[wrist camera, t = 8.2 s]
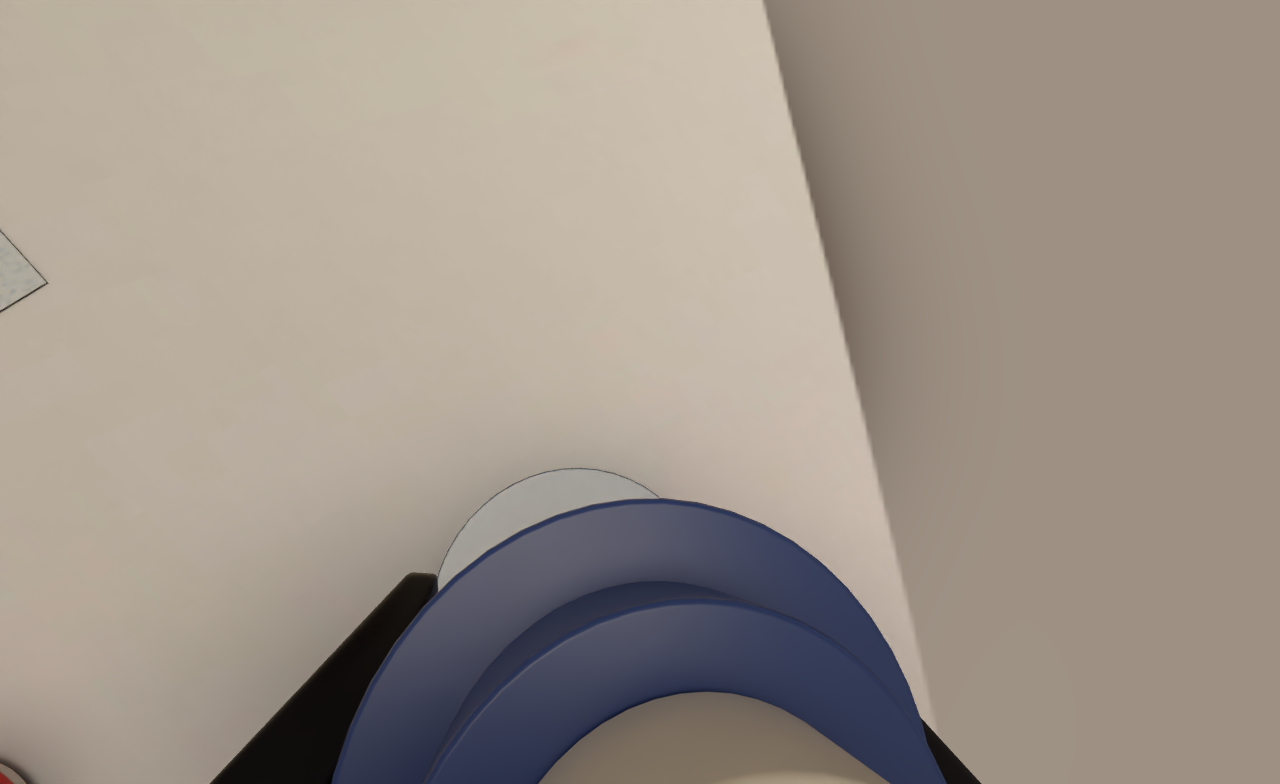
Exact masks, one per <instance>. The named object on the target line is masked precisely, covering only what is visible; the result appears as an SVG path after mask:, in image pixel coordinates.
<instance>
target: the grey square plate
mask: <svg viewBox="0 0 1280 784" xmlns="http://www.w3.org/2000/svg"><path fill="white" fill-rule="evenodd" d="M45 283H46V281H45V280H44V279H43V278H42V277H41V276H40V275H39V274H38V273H37V271H36V270H35V269H34V268H33V267H32V266H31V265H30V264H29V263H28V261H27V260H26V259H25V258H24V257H23V256H22V255H21V254H20V253H19V252H18V250H17V249H16V248H15V247H14V246H13V245H12V244H11V243H10V242H9V240H8V239H7V238H6V237H5V236H4V235H3V234H2V233H1V232H0V310H2V309H4V308H5V307H7V306H9V305H10V304H12V303H14V302H15V301H17V300H18V299H20V298H22V297H23V296H25V295H27V294H28V293H30V292H32V291H33V290H35V289H36V288H38V287H40V286H41V285H43V284H45Z"/></svg>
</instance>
